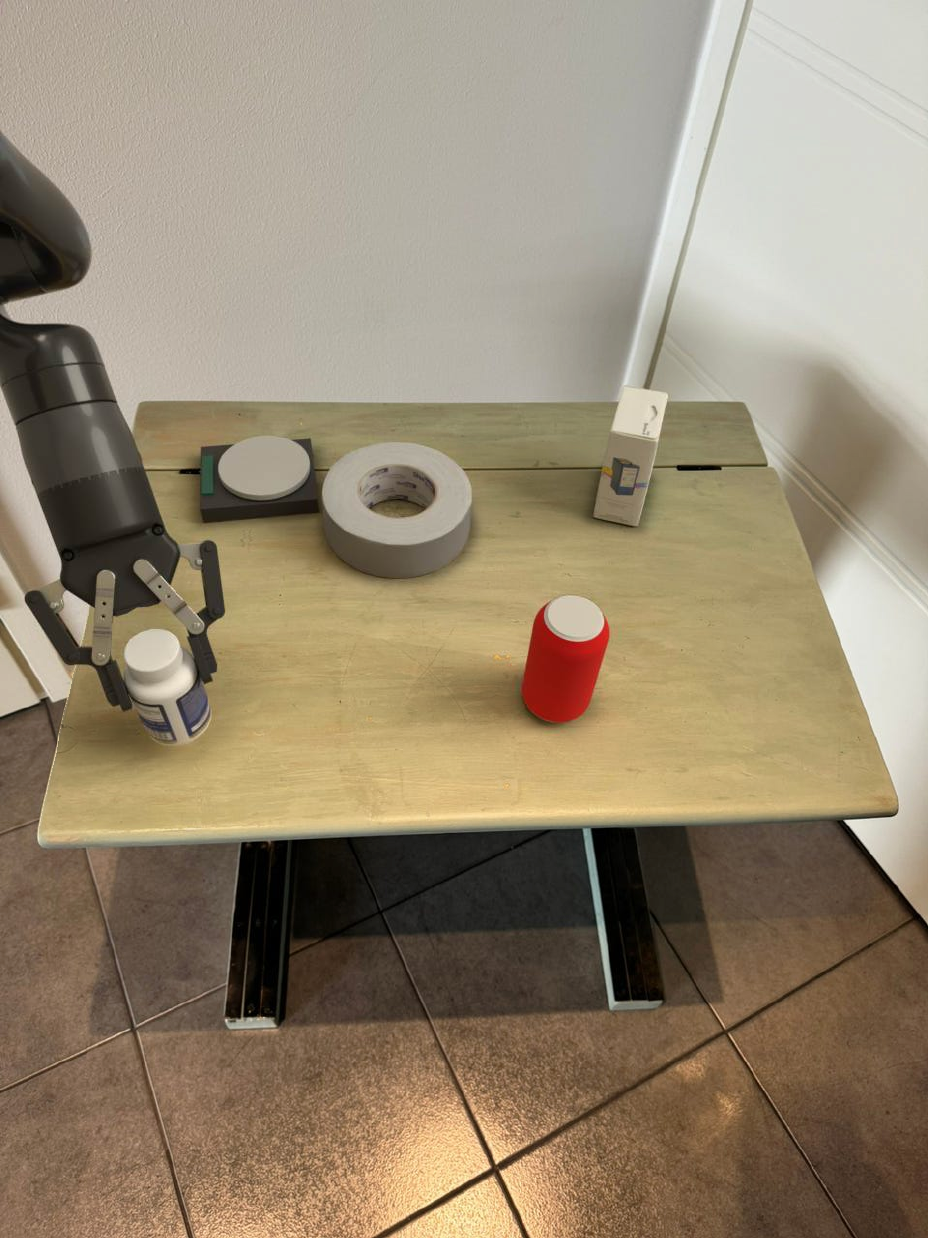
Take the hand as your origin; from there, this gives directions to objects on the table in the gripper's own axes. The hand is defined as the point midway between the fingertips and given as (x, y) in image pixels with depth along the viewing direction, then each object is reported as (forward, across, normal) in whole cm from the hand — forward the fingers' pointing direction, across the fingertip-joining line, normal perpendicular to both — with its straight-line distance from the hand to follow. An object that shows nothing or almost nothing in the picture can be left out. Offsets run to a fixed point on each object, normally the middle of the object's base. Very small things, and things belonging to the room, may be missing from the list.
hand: (168, 694), depth 63 cm
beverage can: (+12, +31, 0) cm, 33 cm away
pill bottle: (+3, 0, +6) cm, 7 cm away
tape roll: (-6, +27, +19) cm, 33 cm away
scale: (-14, +16, +27) cm, 34 cm away
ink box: (-2, +51, +14) cm, 53 cm away
